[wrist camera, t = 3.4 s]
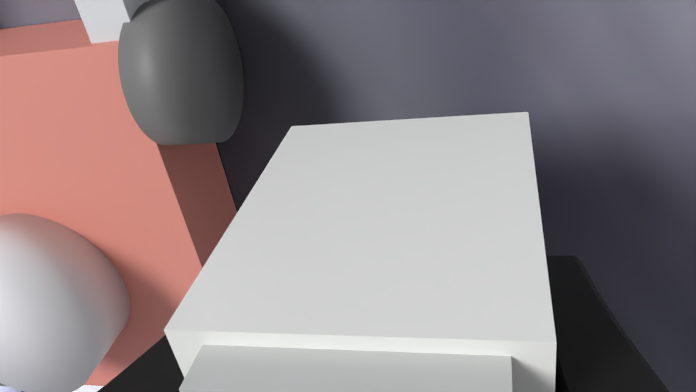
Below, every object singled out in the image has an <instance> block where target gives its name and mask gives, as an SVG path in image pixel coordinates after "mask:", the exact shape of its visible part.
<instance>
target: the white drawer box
mask: <svg viewBox="0 0 696 392" xmlns="http://www.w3.org/2000/svg"><path fill="white" fill-rule="evenodd" d="M164 332H165V334H166V336H167V339H168V341H169V343H170V346H171V348H172V350H173V353H174V355H175V357H176V360H177V362H178V364H179V367H180V369H181V371H182V374H183V376H184V380H183V382H182V384H181V386H180V388H179V391H180V392H555V376H556V344H557V342H556V334H555V326H554V318H553V310H552V301H551V293H550V285H549V277H548V269H547V261H546V253H545V245H544V237H543V229H542V220H541V212H540V204H539V196H538V188H537V180H536V172H535V164H534V156H533V148H532V139H531V131H530V123H529V115H528V112H518V113H501V114H485V115H468V116H452V117H435V118H419V119H402V120H386V121H369V122H353V123H336V124H320V125H303V126H291V128H290V129H289V131H288V133H287V134H286V136H285V137H284V139H283V141H282V142H281V144H280V145H279V147H278V149H277V150H276V152H275V153H274V155H273V156H272V158H271V160H270V161H269V163H268V164H267V166H266V168H265V169H264V171H263V172H262V174H261V176H260V177H259V179H258V180H257V182H256V184H255V185H254V187H253V188H252V190H251V192H250V193H249V195H248V196H247V198H246V200H245V201H244V203H243V204H242V206H241V207H240V209H239V211H238V212H237V214H236V215H235V217H234V219H233V220H232V222H231V223H230V225H229V227H228V228H227V230H226V231H225V233H224V235H223V236H222V238H221V239H220V241H219V243H218V244H217V246H216V247H215V249H214V250H213V252H212V254H211V255H210V257H209V258H208V260H207V262H206V263H205V265H204V266H203V268H202V270H201V271H200V273H199V274H198V276H197V278H196V279H195V281H194V282H193V284H192V286H191V287H190V289H189V290H188V292H187V294H186V295H185V297H184V298H183V300H182V301H181V303H180V305H179V306H178V308H177V309H176V311H175V313H174V314H173V316H172V317H171V319H170V321H169V322H168V324H167V325H166V327H165V329H164Z"/></svg>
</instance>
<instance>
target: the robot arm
mask: <svg viewBox="0 0 696 392" xmlns="http://www.w3.org/2000/svg"><path fill="white" fill-rule="evenodd" d="M546 261H547V269H548V277H549V285H550V293H551V301H552V310H553V318H554V326H555V334H556V342H557V344H556V376H555V392H669V390H668V389H667V388H666V387H665V385H664V384H663V383H662V382H661V380H660V379H659V378H658V376H657V375H656V374H655V373H654V371H653V370H652V369H651V367H650V366H649V365H648V363H647V362H646V361H645V359H644V358H643V357H642V355H641V354H640V352H639V351H638V350H637V348H636V347H635V346H634V344H633V343H632V342H631V340H630V339H629V338H628V336H627V335H626V333H625V332H624V331H623V329H622V328H621V326H620V325H619V323H618V322H617V320H616V319H615V317H614V316H613V314H612V313H611V311H610V310H609V308H608V307H607V305H606V304H605V302H604V300H603V299H602V297H601V296H600V294H599V292H598V291H597V289H596V287H595V286H594V284H593V282H592V281H591V279H590V277H589V275H588V273H587V271H586V270H585V268H584V266H583V263H582V262H581V261H580V260H579V259H578V258H577V257H575V256H546ZM183 380H184V376H183V374H182V371H181V369H180V367H179V364H178V362H177V360H176V357H175V355H174V353H173V350H172V348H171V346H170V343H169V341H168V339H167V336H166V335H164V336H163V337H162V338H161V339H160V340H159V341H158V342H157V343H155V344H154V345H153V346H152V347H151V348H149V349H148V350H147V351H146V352H145V353H143V354H142V355H141V356H140V357H139V358H137V359H136V360H135V361H134V362H133V363H132V364H130V365H129V366H128V367H127V368H126V369H124V370H123V371H122V372H121V373H120V374H118V375H117V376H116V377H115V378H114V379H112V380H111V381H110V382H109V383H108V384H106V385H105V386H104V387H103V388H101V389H100V390H99V391H98V392H180V391H179V388H180V386H181V384H182V382H183ZM0 392H21V391H20V390H18V389H14V388H11V387H7V386H0Z"/></svg>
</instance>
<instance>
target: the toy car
mask: <svg viewBox="0 0 696 392" xmlns="http://www.w3.org/2000/svg"><path fill="white" fill-rule="evenodd" d="M75 3H76V5H77V8H78V11H79V13H80V16H81V18H82V19H79V20H71V21H63V22H55V23H46V24H38V25H30V26H22V27H14V28H6V29H0V386H7V387H11V388H14V389H18V390H21V391H25V392H72V391H74V390H76V389H78V388H80V387H81V386H83V385H98V386H105V385H106V384H108V383H109V382H110V381H111V380H112V379H114V378H115V377H116V376H117V375H118V374H120V373H121V372H122V371H123V370H124V369H126V368H127V367H128V366H129V365H130V364H132V363H133V362H134V361H135V360H136V359H137V358H139V357H140V356H141V355H142V354H143V353H145V352H146V351H147V350H148V349H149V348H151V347H152V346H153V345H154V344H155V343H157V342H158V341H159V340H160V339H161V338H162V337H163V336H164V335H166V334H165V332H164V329H165V327H166V325H167V324H168V322H169V321H170V319H171V317H172V316H173V314H174V313H175V311H176V309H177V308H178V306H179V305H180V303H181V301H182V300H183V298H184V297H185V295H186V294H187V292H188V290H189V289H190V287H191V286H192V284H193V282H194V281H195V279H196V278H197V276H198V274H199V273H200V271H201V270H202V268H203V266H204V265H205V263H206V262H207V260H208V258H209V257H210V255H211V254H212V252H213V250H214V249H215V247H216V246H217V244H218V243H219V241H220V239H221V238H222V236H223V235H224V233H225V231H226V230H227V228H228V227H229V225H230V223H231V222H232V220H233V219H234V217H235V215H236V214H237V210H236V207H235V204H234V201H233V198H232V194H231V191H230V188H229V185H228V181H227V178H226V175H225V172H224V168H223V165H222V162H221V159H220V156H219V152H218V149H217V146H216V143H221V142H224V141H226V140H228V139H229V138H230V137H231V136H232V135H233V134H234V132H235V130H236V128H237V126H238V124H239V121H240V118H241V114H242V108H243V101H244V74H243V65H242V59H241V54H240V49H239V45H238V42H237V38H236V35H235V33H234V30H233V27H232V25H231V23H230V21H229V19H228V17H227V15H226V13H225V12H224V10H223V9H222V8H221V6H220V5H219V4H218V3H217V2H216V1H215V0H75Z"/></svg>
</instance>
